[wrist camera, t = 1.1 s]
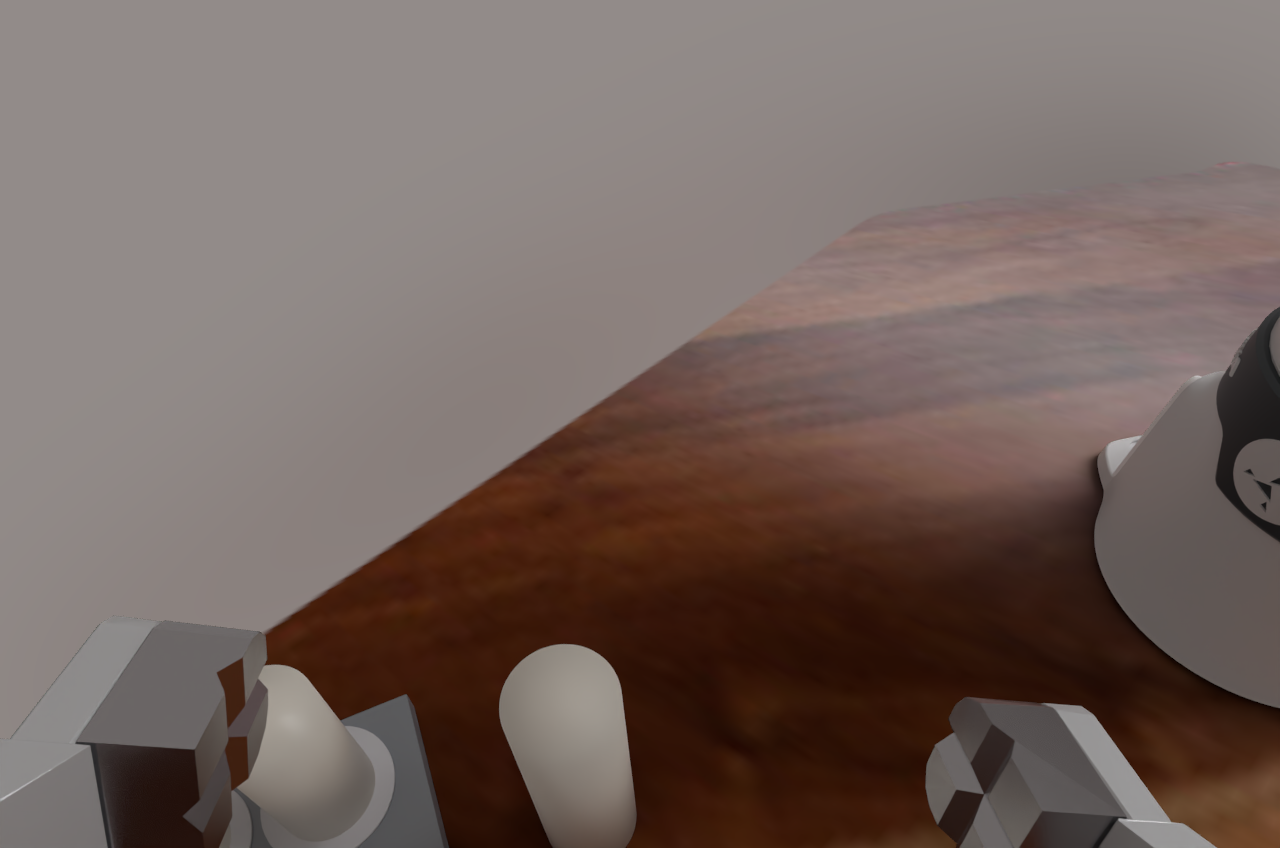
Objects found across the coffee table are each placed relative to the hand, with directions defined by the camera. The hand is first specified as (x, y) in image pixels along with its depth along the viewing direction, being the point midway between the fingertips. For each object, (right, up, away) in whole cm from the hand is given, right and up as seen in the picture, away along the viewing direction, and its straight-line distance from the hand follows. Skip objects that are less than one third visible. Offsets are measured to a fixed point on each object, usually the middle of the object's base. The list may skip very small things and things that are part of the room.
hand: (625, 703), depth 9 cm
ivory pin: (-2, -14, +26) cm, 29 cm away
